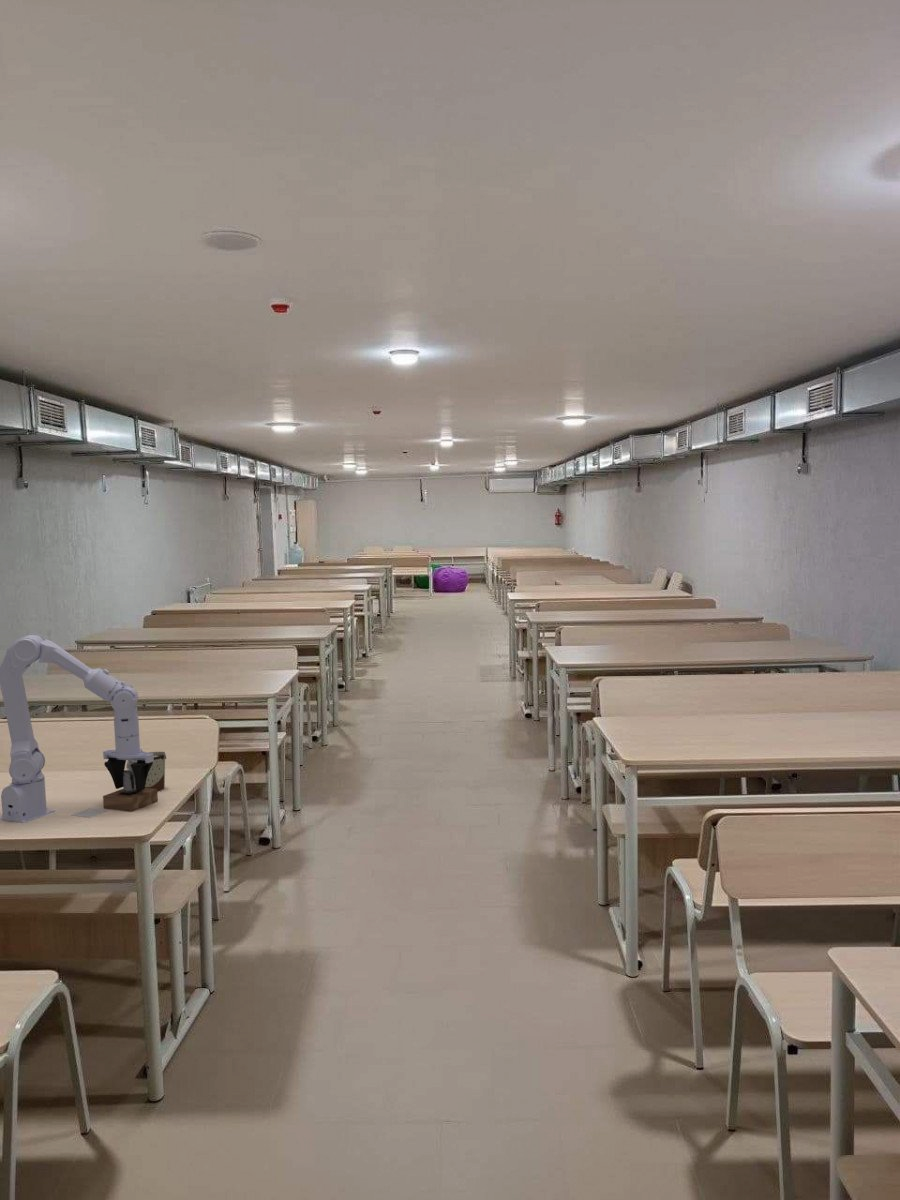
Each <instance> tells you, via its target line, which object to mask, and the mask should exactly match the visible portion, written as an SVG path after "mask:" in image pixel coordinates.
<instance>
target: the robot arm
mask: <svg viewBox="0 0 900 1200" xmlns="http://www.w3.org/2000/svg"><path fill="white" fill-rule="evenodd" d="M36 661H38V663H39V664H40V663H41V664H42V663H45V664H46V663H47V664H49V663H50V664H56V665H57V666H58V667H60V668H62V669H63V670H66V671H67V672H69V673H70V674H73V675H74V676H76V677H78V678H79V679H81V680H82V682H83V685H84V688H85V689H86V690H88V691H90V692H91V693H93V694H94V695H96V696H98V697H99V698H100V699H102V700H104V701H105V702H110V706H111V707H112V709H113V714H114V715H113V726H114V728H113V729H114V730H113V731H114V744H115V745H114V746H115V749H107V750H103V751H102V756H103V760H107V761H104V764H103V765H104V767H105V768H106V770H107V771H108V772H109V774H110V776H111V779H112V782H113V783H114V788H115V789H116V790H120V789H123V771H124V770H126V769H125V767H126V764H127V761H128V760H129V761H137V763H133V764H131V768H132V770H133V773H134V777H135V785H136V790H137V791H141V790H144V789H145V784H146V779H147V776H148V773H149V770H150V768H151V766H152V764H153V761H154V754H152V753H148V752H146V751H143V749H141V747H140V746H141V744H140V743H141V741H140V727H139V714H138V705H137V702H138V701H139V694H138V691H137V690H136V688H134V687H133V686H132V685H131V684H126V682H125V680H124V681H123V680H122V681H120V680H118V678H115V677H114V676H113V675H111V674H109V673H110V670H108V669H107V668H104V669H101V668H100V667H98V668H91V667H89V666H87V664H85V663H83V662H82V661H81V660H79V659H78V658H76V657H75V656H74V655H72V654H70V653H69V652H67V650H65V649H64V648H62V647H60V646H59V645H58V644H56V643H55V642H53V641H51V640H49V639H46V638H45V637H44V636H42V635H40V634H38V633H29V634H27V635H25V636H22V637H20V638H16V640H15V641H14V642H12V643H11V644H10V645H9V646H8V647H7V648H6V653H5V655H4V658H3V659H2V662H1V663H0V689H1V694H2V701H3V706H4V710H5V716H6V722H7V725H8V726H7V727H8V731H9V737H10V743H11V747H10V754H9V755H10V764H9V767H8V772H9V776H10V777H11V783H10V784H9V785H8V786H6V787H4V788H3V789H2V790H1V795H0V800H1V813H2V816H1V817H0V820H1V821H6V822H7V821H8V822H13V823H14V822H15V823H21V824H24V823H27V822H31V821H33V820H36V819H38V818H41V817H44V816H47V815H49V814H52V813H55V812H56V810H55V809H50V808H49V809H47V795H46V792H47V791H46V780H45V774H44V773H43V772H42V769H44V767H45V766H46V758H45V755H44V753H43V752H42V751H41V750H40V748H39V744H38V741H37V739H36V738H35V735H34V730H33V726H32V725H33V724H32V720H31V714H30V708H29V703H28V700H27V699H28V698H27V693H26V687H25V684H24V683H25V682H24V677H23V676H24V675H23V674H25V672H26V671H27V670H28V669H29V668H30V666H31V665H32V664H33V663H35V662H36Z"/></svg>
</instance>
